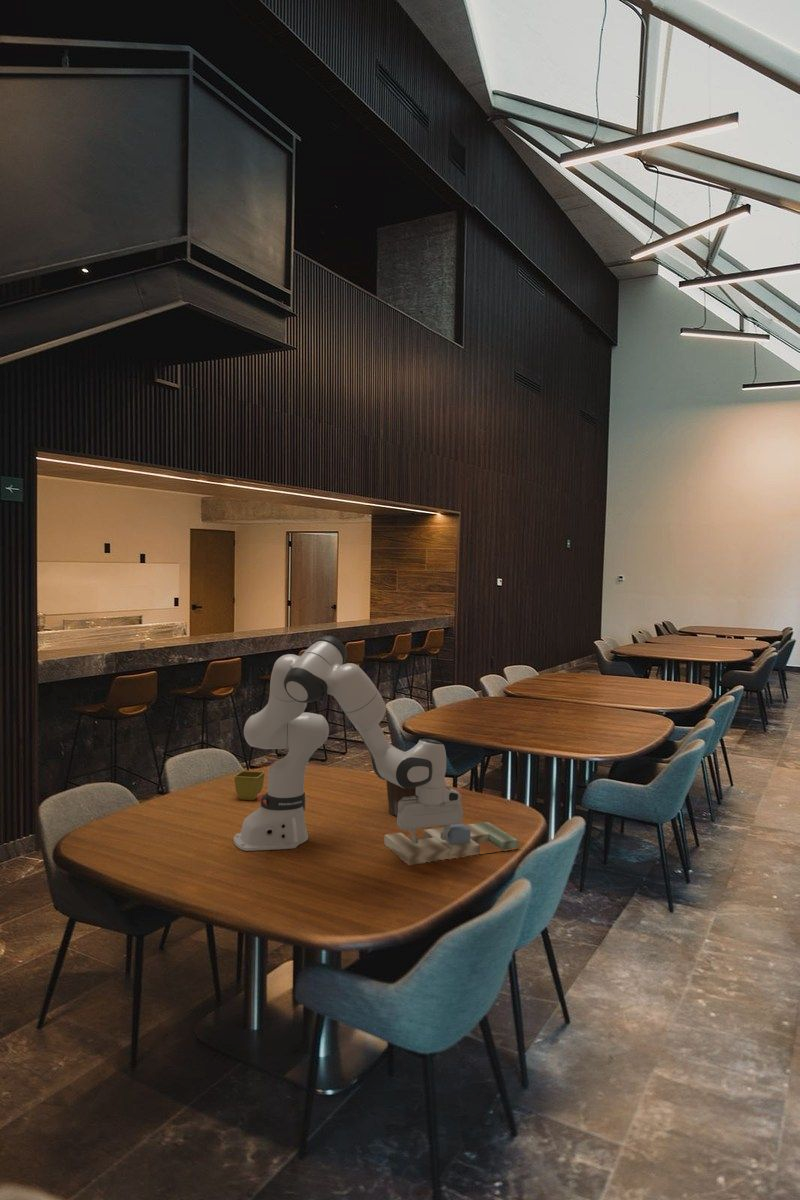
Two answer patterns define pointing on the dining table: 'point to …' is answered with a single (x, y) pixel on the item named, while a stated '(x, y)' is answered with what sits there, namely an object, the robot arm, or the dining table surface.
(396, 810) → the plant pot
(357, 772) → the dining table surface
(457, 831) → the slate block
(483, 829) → the wooden cutout board
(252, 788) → the flower pot
